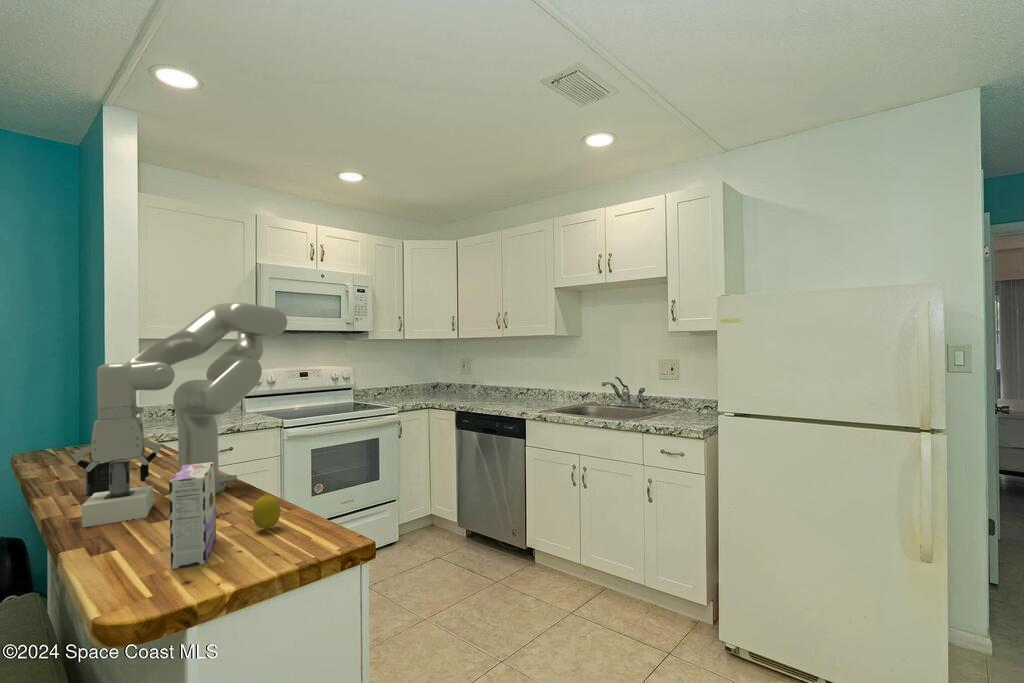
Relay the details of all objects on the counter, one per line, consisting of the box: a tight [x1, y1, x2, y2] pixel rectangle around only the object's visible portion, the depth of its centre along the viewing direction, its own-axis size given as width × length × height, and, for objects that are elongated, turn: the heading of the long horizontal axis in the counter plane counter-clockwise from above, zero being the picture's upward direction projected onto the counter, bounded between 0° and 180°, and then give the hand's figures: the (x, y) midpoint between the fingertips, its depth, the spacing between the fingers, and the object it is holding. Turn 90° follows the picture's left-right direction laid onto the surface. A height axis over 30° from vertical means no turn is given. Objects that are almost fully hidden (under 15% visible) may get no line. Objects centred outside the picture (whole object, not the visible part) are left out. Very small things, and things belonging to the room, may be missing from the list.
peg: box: [109, 459, 131, 499], centre depth 124 cm, size 4×4×12 cm
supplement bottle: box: [84, 451, 114, 496], centre depth 145 cm, size 7×7×12 cm
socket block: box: [81, 485, 154, 528], centre depth 124 cm, size 12×12×5 cm
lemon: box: [251, 493, 281, 531], centre depth 111 cm, size 6×6×8 cm
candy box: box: [168, 462, 217, 570], centre depth 100 cm, size 14×6×16 cm, turn 23°
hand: (119, 483), depth 124 cm, fingers open, 9 cm apart
